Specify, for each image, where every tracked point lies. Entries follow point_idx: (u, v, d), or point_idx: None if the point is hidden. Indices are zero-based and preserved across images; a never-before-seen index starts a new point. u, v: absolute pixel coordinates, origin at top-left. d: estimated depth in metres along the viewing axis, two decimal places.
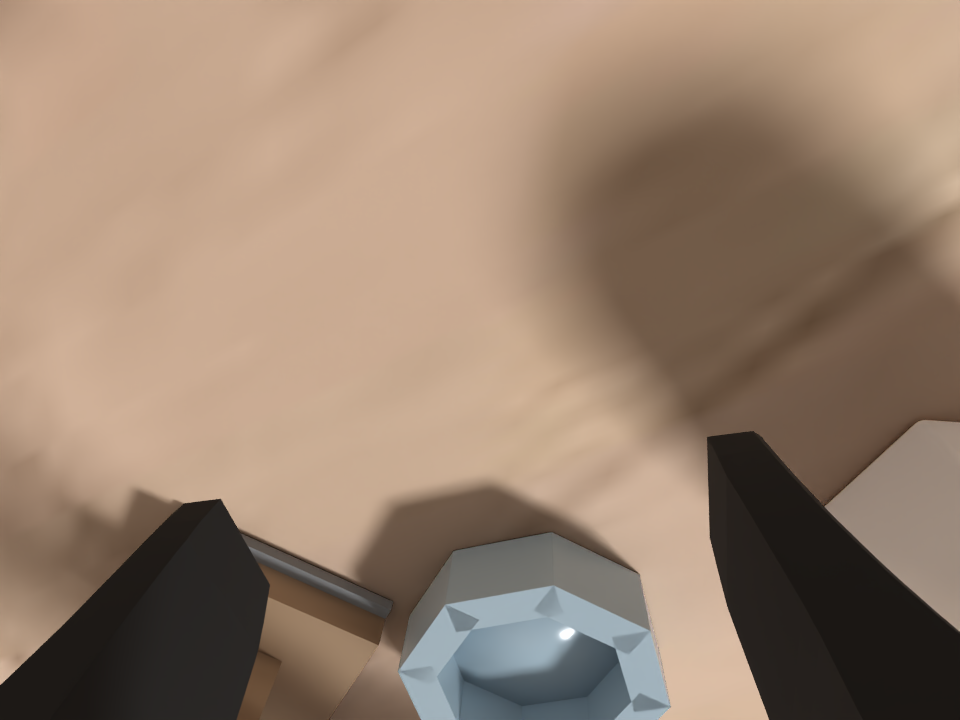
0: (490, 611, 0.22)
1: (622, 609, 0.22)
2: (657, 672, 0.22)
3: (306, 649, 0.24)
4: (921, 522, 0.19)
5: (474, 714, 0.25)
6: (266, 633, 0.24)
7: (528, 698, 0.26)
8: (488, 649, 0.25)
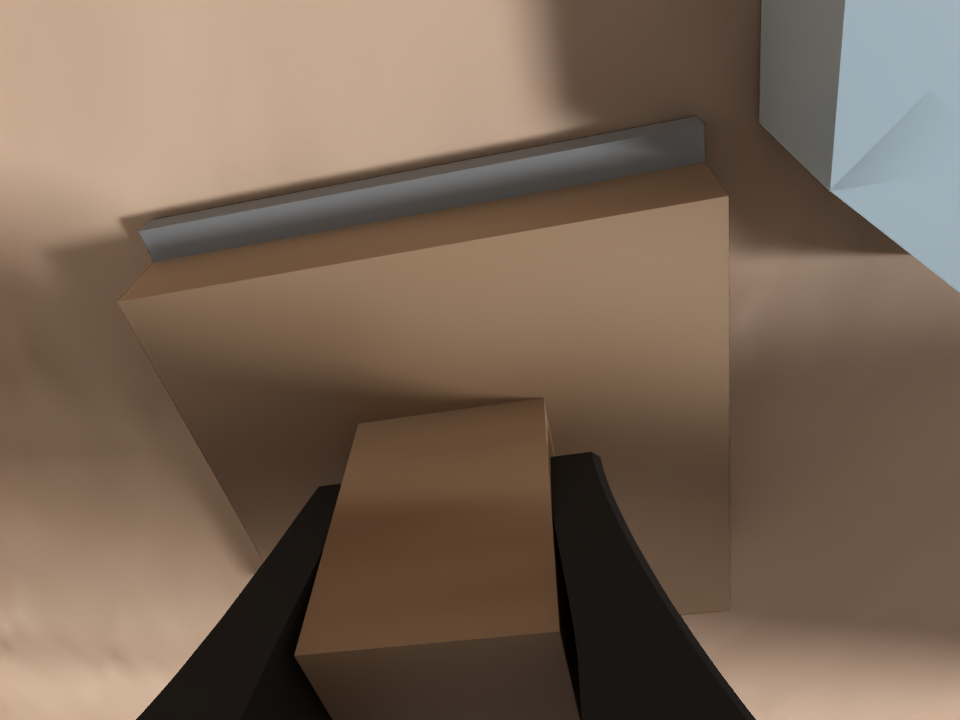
0: None
1: None
2: None
3: (570, 332, 0.09)
4: None
5: None
6: (463, 352, 0.10)
7: None
8: None
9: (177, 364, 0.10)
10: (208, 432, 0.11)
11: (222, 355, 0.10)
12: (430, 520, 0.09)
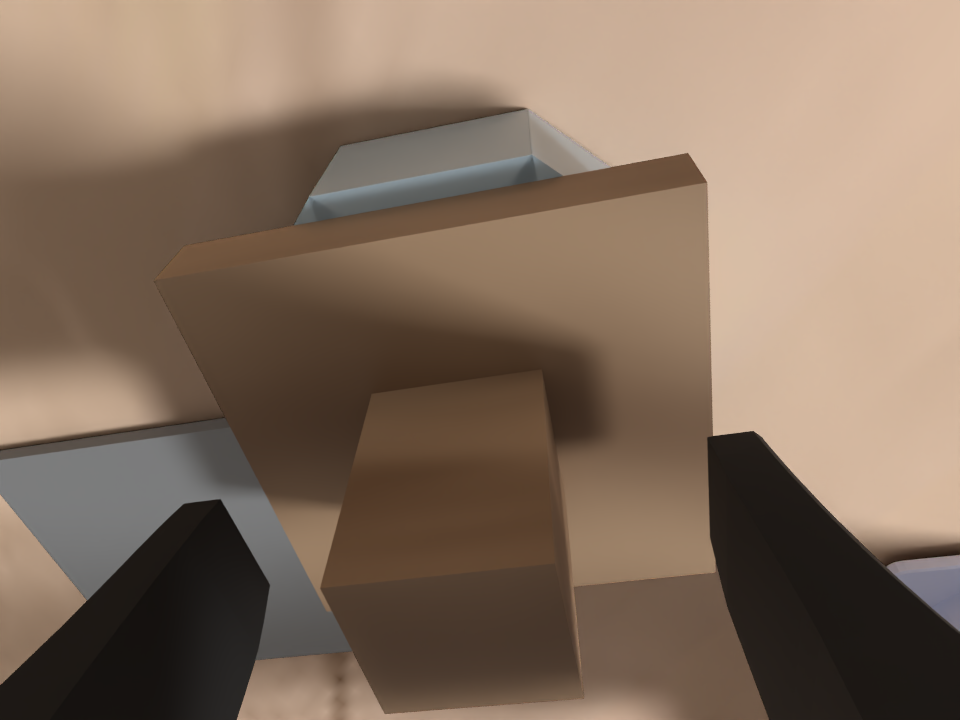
0: None
1: (468, 158, 0.11)
2: None
3: (565, 307, 0.10)
4: None
5: None
6: (468, 326, 0.11)
7: None
8: None
9: (207, 338, 0.11)
10: (233, 402, 0.12)
11: (247, 329, 0.11)
12: (439, 475, 0.09)
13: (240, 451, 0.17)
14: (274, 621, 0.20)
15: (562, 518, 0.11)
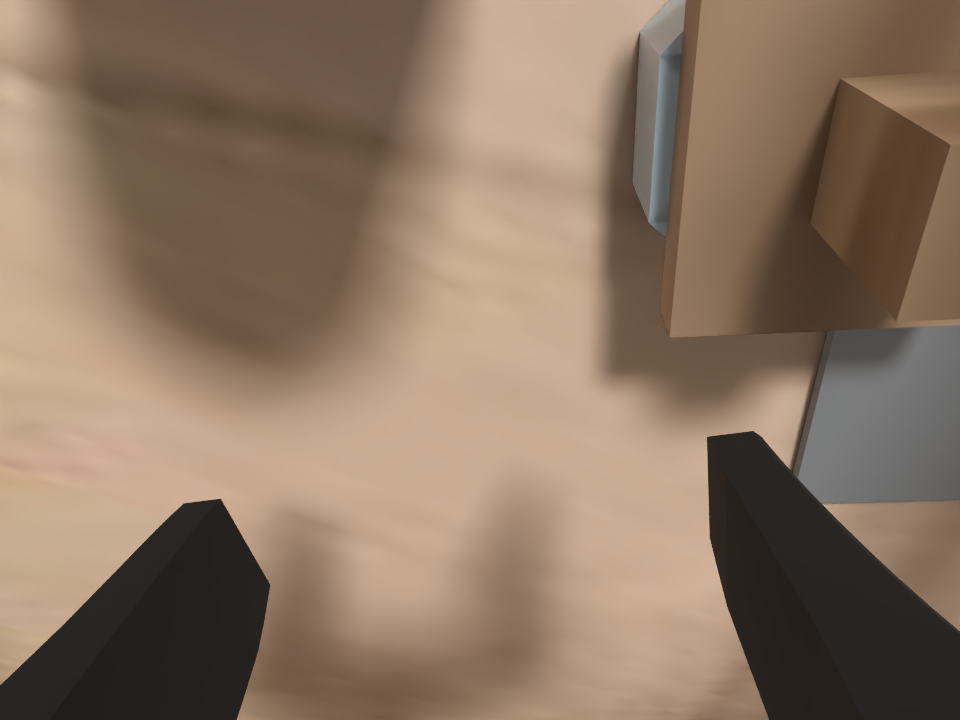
0: None
1: (653, 102, 0.14)
2: None
3: (786, 51, 0.12)
4: None
5: None
6: (775, 136, 0.13)
7: None
8: None
9: (721, 321, 0.15)
10: (779, 322, 0.15)
11: (723, 293, 0.15)
12: (871, 201, 0.12)
13: (862, 332, 0.19)
14: None
15: None
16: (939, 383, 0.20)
